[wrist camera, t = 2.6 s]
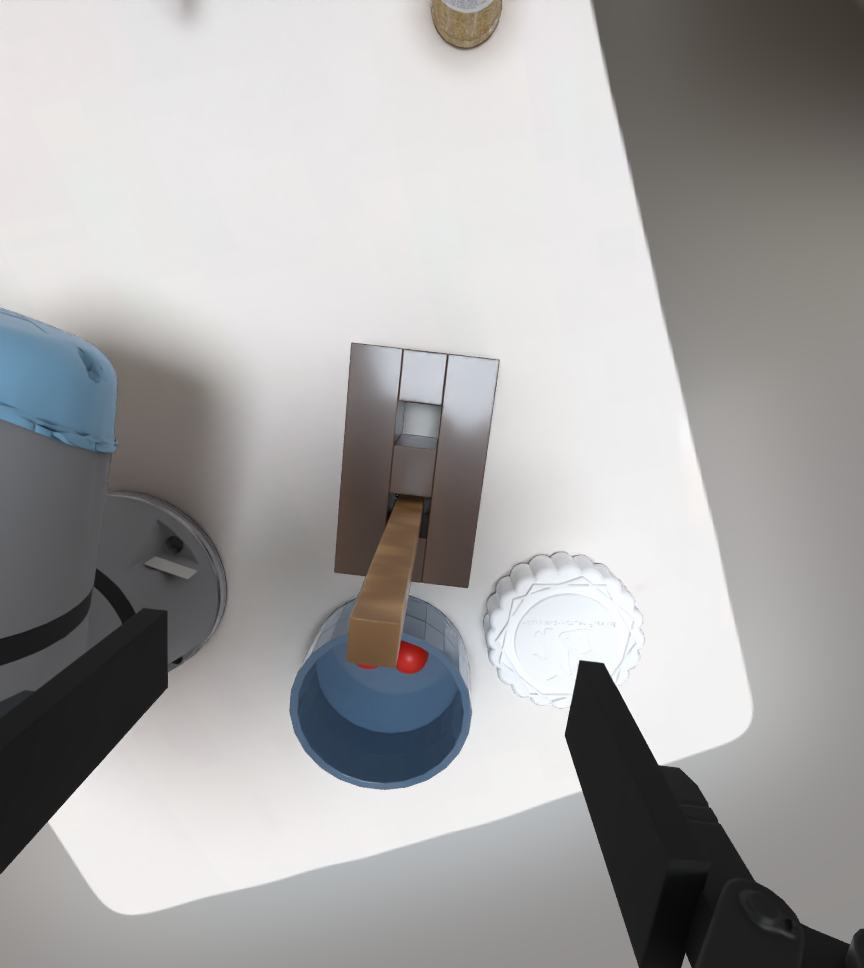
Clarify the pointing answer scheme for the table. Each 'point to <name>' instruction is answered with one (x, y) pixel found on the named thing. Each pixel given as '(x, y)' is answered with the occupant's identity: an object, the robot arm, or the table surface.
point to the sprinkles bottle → (466, 20)
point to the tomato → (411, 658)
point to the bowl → (384, 704)
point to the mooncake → (560, 626)
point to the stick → (386, 589)
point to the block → (414, 457)
